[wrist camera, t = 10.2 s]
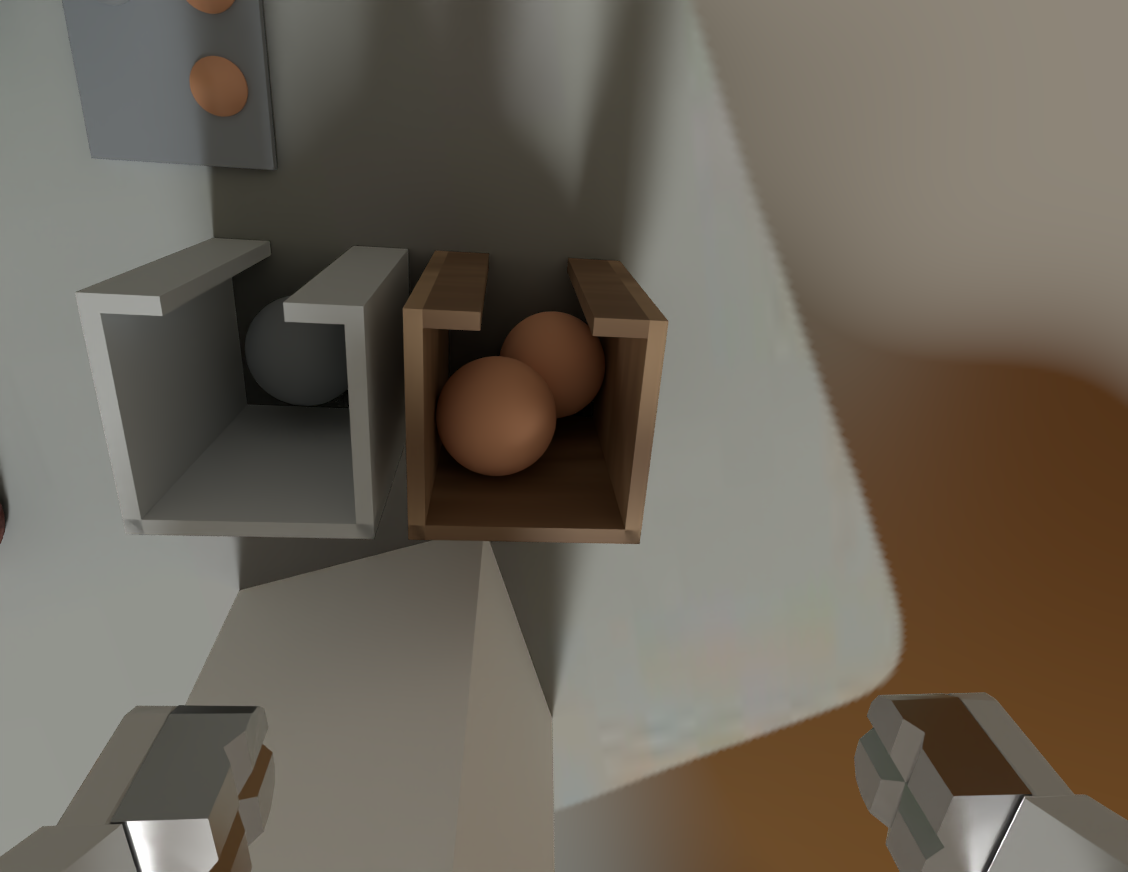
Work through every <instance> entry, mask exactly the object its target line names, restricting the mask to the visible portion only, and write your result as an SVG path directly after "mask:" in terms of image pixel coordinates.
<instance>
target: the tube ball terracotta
mask: <svg viewBox="0 0 1128 872" xmlns="http://www.w3.org/2000/svg"><path fill="white" fill-rule="evenodd" d="M500 356H502V357H509V358H512V359H516V360H518V361H521V362H523V363H525V364H527V365H528V366H530V367H531V368H533V369H534V370H535V371H536V372H537V373H538V374H539V375H540V376H541V377H542V378H543V379H544V380H545V382H546V383H547V385H548V386H549V388H550V390H551V392H552V395H553V397H554V401H555V405H556V416H557V418H562V417H566V416H569V415H572V414H575V413H577V412H578V411H580V410H582V409H583V408H584V407H586V406H587V405H588V404H589V403H590V402H591V401H592V400H593V399H594V397H595V396H596V395H597V393H598V391H599V389H600V387H601V385H602V382H603V378H604V374H605V356H604V351H603V348H602V345H601V343H600V341H599V339H598V337H597V336H593V335H592V333H591V330H590V328H589V326H588V325H587V324H586V323H584V322H583V321H581V320H580V319H579V318H576V317H574V316H572V315H570V314H566V313H562V312H555V311H551V312H541V313H537V314H534V315H531V316H529V317H527V318H525V319H524V320H522V321H521V322H520V323H518V324H517V325H516V326H515V327H514V328H513V329H512V330H511V331H510V333H509V334H508V336H507V337H506V339H505V341H504V343H503V345H502V348H501V351H500Z"/></svg>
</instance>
